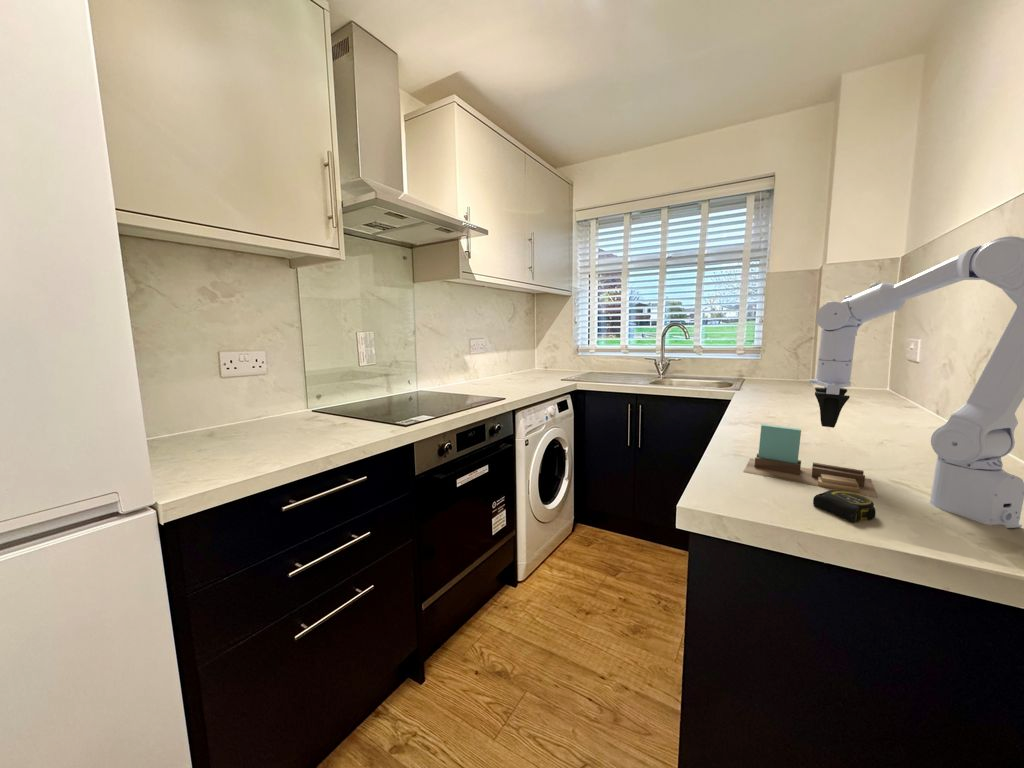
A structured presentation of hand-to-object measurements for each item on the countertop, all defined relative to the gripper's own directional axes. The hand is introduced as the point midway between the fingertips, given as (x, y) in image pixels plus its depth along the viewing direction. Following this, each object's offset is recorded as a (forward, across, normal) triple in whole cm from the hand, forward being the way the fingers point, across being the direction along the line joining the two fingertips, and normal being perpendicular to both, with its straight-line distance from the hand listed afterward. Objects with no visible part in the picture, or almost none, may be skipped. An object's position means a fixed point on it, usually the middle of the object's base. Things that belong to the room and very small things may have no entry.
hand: (827, 423), depth 88 cm
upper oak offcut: (+9, +13, +2) cm, 16 cm away
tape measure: (+11, +27, +3) cm, 29 cm away
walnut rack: (+10, +10, -3) cm, 15 cm away
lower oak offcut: (+9, +13, +2) cm, 17 cm away
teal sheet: (+9, +8, -8) cm, 15 cm away
